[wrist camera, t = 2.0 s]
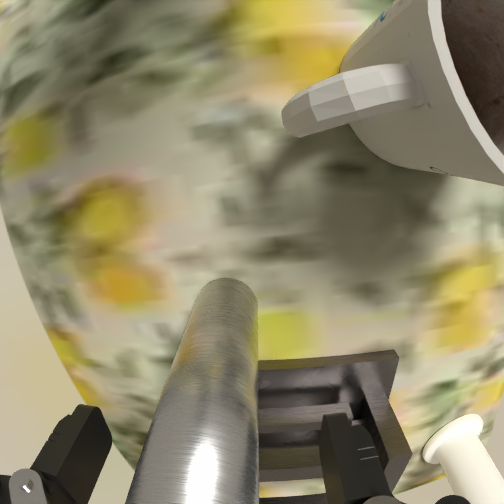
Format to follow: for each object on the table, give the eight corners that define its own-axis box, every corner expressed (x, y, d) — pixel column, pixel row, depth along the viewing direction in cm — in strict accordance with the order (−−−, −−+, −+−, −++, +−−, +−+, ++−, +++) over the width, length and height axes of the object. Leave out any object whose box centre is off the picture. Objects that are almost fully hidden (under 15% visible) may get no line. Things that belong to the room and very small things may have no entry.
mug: (451, 36, 14) (558, -9, 4) (472, 165, 16) (596, 191, 6) (258, 30, 14) (261, -85, 5) (282, 182, 17) (319, 220, 7)
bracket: (185, 360, 20) (161, 442, 13) (394, 349, 20) (436, 421, 13) (207, 463, 24) (199, 530, 17) (365, 454, 23) (383, 516, 16)
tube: (193, 278, 18) (98, 501, 5) (256, 276, 18) (257, 520, 5) (200, 335, 19) (144, 550, 6) (258, 334, 19) (260, 561, 6)
